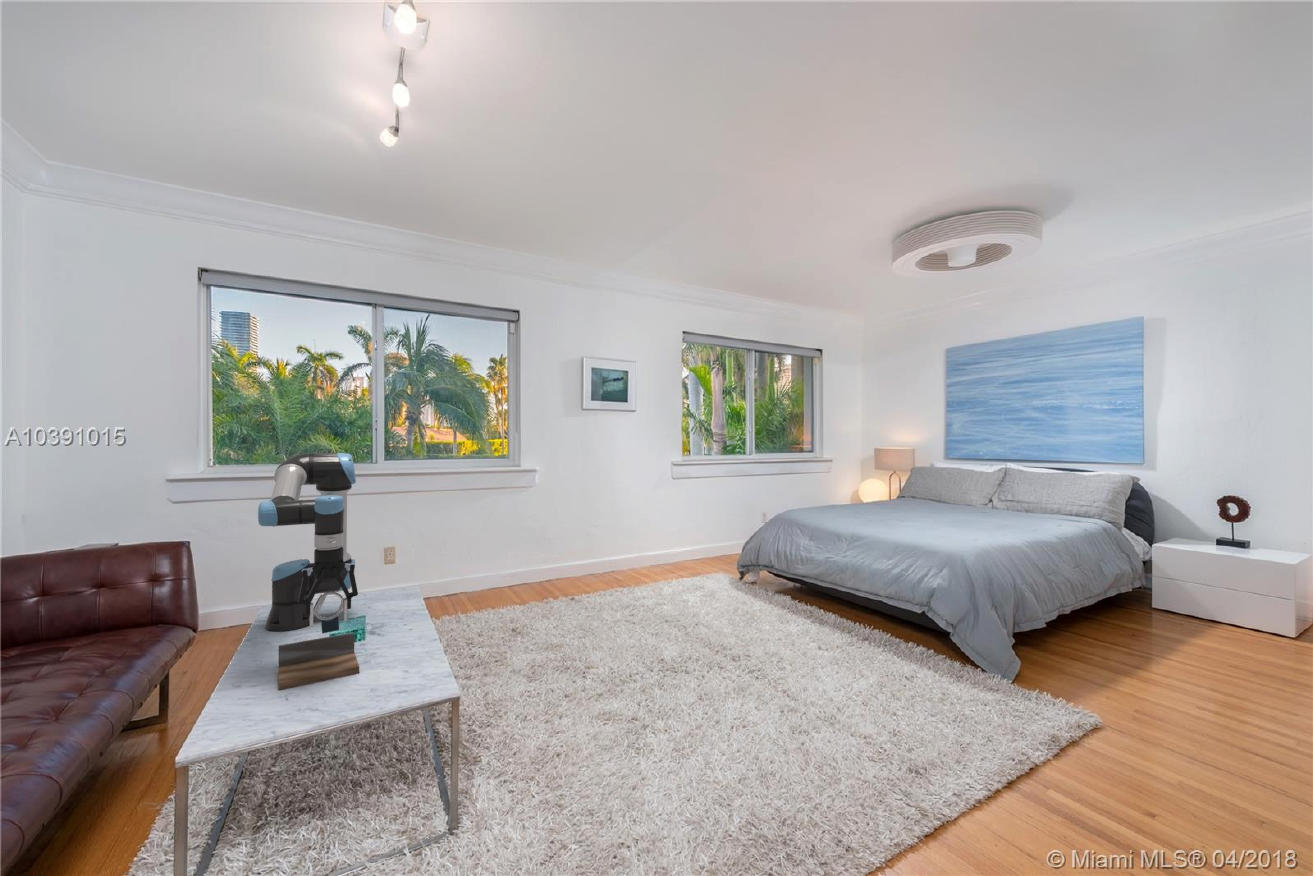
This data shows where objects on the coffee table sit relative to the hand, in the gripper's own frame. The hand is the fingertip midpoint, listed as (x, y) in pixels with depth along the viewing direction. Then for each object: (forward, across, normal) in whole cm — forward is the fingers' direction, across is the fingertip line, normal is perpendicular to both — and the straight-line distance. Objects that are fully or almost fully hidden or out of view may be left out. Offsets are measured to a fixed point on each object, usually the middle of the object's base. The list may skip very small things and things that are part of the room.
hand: (328, 622), depth 165 cm
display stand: (+15, -2, +2) cm, 15 cm away
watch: (+2, 0, 0) cm, 2 cm away
